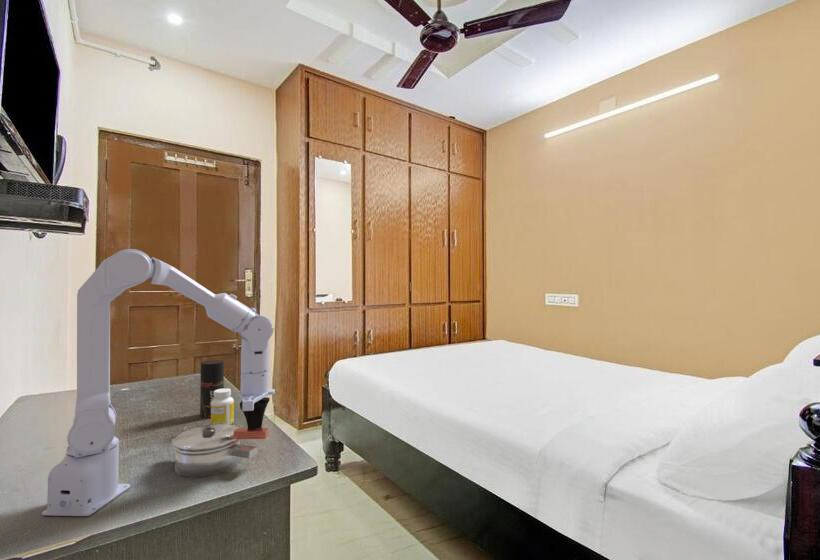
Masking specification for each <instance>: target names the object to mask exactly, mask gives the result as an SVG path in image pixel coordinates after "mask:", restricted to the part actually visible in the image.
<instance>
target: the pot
mask: <svg viewBox="0 0 820 560" xmlns="http://www.w3.org/2000/svg"><path fill="white" fill-rule="evenodd" d="M175 438H176V437H173V439H171V447H173V450H174V452H175V454H174V455H175V456H174V457H175V460H174V461H175V462H174V463H175V464H174V468H175V469H174V472H175V473H176V475H178V476H180V477H184V478H193V479H194V478H205V477H206V478H207V477H211V476H215V475H219V474H222V473H225V472H227V471H228V470H230V469H233V468H234V467H235V466H236V465H237V464H238V463H239V462H240V458H244V459H251V458H252V457H254V456H255V455H257V454H258V446H256V445H254V446H253V445H247V444H241V440H242V439H238V440H236V441H235V442H233V443H231V444H229V445H226V446H223V447H220V448H216V449H211V450H205V451H184V450H180V449H177V448H176V447H175V445H174V440H175Z"/></svg>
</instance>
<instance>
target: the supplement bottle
mask: <svg viewBox="0 0 820 560" xmlns="http://www.w3.org/2000/svg"><path fill="white" fill-rule="evenodd" d="M231 395H232V389H231V388H224V389H218V390H215V391H214V397H215V399H213V400H212V401H211V418H210V425H215V424H228V425H234V426H235V418H234V417H235V411H234V410H235V409H234V408H235V400H234V398H233V397H232V396H231Z"/></svg>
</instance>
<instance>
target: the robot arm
mask: <svg viewBox="0 0 820 560" xmlns="http://www.w3.org/2000/svg"><path fill="white" fill-rule="evenodd" d="M149 278H150V279H149ZM148 279H149V282H148V283H149V284H151V285H159V286H166V287H169V288H171V289H172V290H174V291H175V292H177V293H179V294H182V295H183V296H185V297H186V298H188V299H190V300H192V301H194V302H196V303H197V304H199V305H201V306H203V307H204V309H205V312H206V316H207V318H210V320H212V321H215V322H216V323H218V324H220V325H221V326H223V327H224V328H226V329H229V331H232V332H233V333H238V335H239V336H240V337H241V346H240V347H241V349H240V391H239V398H240V400H241V401H240V402H239V408H240V410H241V411H242V414H243V416H244V417H245V422H246V427H247V428H263V422H264V421H263V420H264V417H265V412H266V409H267V407H268V404H269V402H270V401H271V400H270V397H268V396H270V395H271V396H272V395H275V394H276V389H275V388H270V339H271V337H272V336H273V333H274V331H275V330H274V328H273V326H272V323H271V321H270V319H268V318H267V317H266V316H263V315H260V314H258V313H256V312H257V309H255V308H254V307H248V306H247V305H246V304H244V303H242V302H241V301H239V300H237V298H238V296H236V295H235V294H233V293H230V294H227V293H226V292H222V293H217V294H216V293H214V292H212V291H211V290H209V289H207V288H206V287H204V286H203V285H201V284H200V283H199V282H197V281H196V280H194V279H193V278H191V277H189V276H188V275H186V274H184V273H183V272H182V271H180V270H179V269H177V268H176V267H174V266H172V265H170V264H168V263H166V262H164V261H162V260H160V259H157V258H155V257H149V255H148V254H147V253H145V252H143V251H142V250H139V249H136V248H134V249H133V248H127V249H126V248H125V249H121V250H119V251H117V252H115V253H114V254H112V255H111V256H109V257H106V259H103V260H102V262H101V263H100V264H99V266H98V267H97V268H96V269H95V271H93V272H92V274H91V275H90V276H89V277H88V279H86V281H85V282H84V283H83V284H82V285H81V286H80V287H79V288H78V290H77V292H76V293H77V294H76V399H75V407H74V418H73V419H72V420H73V421H72V426H71V427H70V428H69V430H68V432H67V435H66V442H67V445H68V446H67V447H66V451H65V455H64V457H63V458H62V460H60V461H59V462H58V463H57V464H56V465H55V466H53V468H52V469H51V470H50V471H49V473H48V476H47V501H46V502H47V504H46V505H47V509H45V510H43V511H42V512H41V514H42V516H53V517H54V516H59V517H60V516H62V517H63V516H64V517H69V516H70V517H90V516H92V515H93V514H95V513H96V512H98V511H99V510H100V509H102V508H103V507H104V506H106V505H107V504H109V503H110V502H112V501H114V499H116V498H117V497H118V496H120V495H122V494H123V493H124V492H126V491H127V490H128V489H130V488H131V483H119V457H120V455H119V453H120V440H119V438H118V437H116V422H117V419H118V418H117V416H118V415H117V412H116V410H115V408H114V407H113V405H112V402H111V347H110V346H111V302H113V300H115V299H116V298H118V297H119V296H120V295H122V294H123V293H124V292H125V290H128V289H130V288H133V287H137V286H138V285H140V284H142V283H144V282H146V281H147V280H148Z"/></svg>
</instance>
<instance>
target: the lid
mask: <svg viewBox="0 0 820 560" xmlns="http://www.w3.org/2000/svg"><path fill="white" fill-rule="evenodd" d="M268 437H269V427H262V428H248V427H239V426H237V425H235V424H234V425H228V424H215V425H211V424H207V425H203V426H197V427H194V428H191V429H188V430H185V431H182V432H181V433H179V434H178V435H177V436H176V437H174V438H175V440H174V445H175V447H176V448H177V449H180V450H184V451H205V450H211V449H216V448H220V447H223V446H226V445H229V444H231V443H233V442H235V441H236V440H238V439H241V440H266V439H267V438H268Z"/></svg>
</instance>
